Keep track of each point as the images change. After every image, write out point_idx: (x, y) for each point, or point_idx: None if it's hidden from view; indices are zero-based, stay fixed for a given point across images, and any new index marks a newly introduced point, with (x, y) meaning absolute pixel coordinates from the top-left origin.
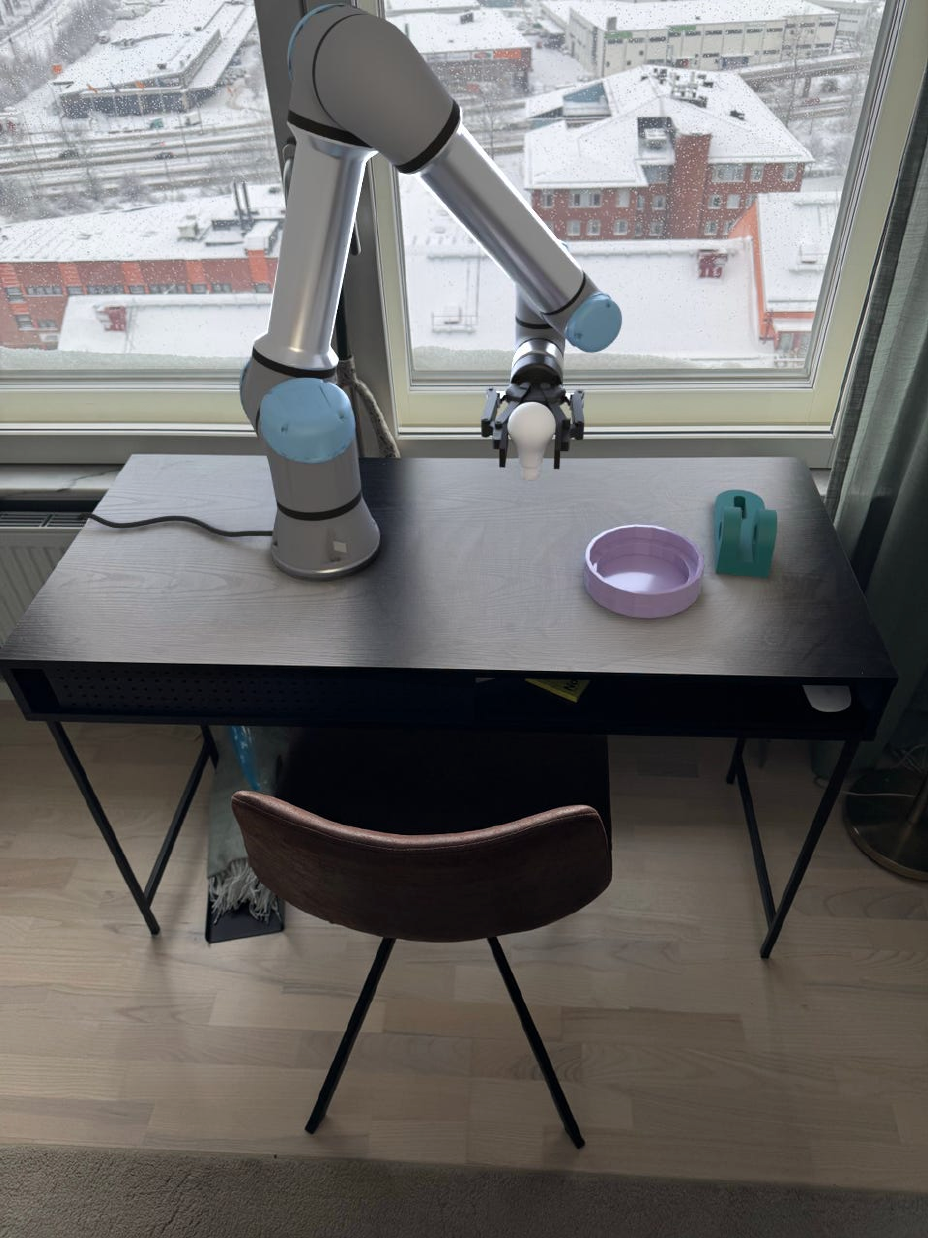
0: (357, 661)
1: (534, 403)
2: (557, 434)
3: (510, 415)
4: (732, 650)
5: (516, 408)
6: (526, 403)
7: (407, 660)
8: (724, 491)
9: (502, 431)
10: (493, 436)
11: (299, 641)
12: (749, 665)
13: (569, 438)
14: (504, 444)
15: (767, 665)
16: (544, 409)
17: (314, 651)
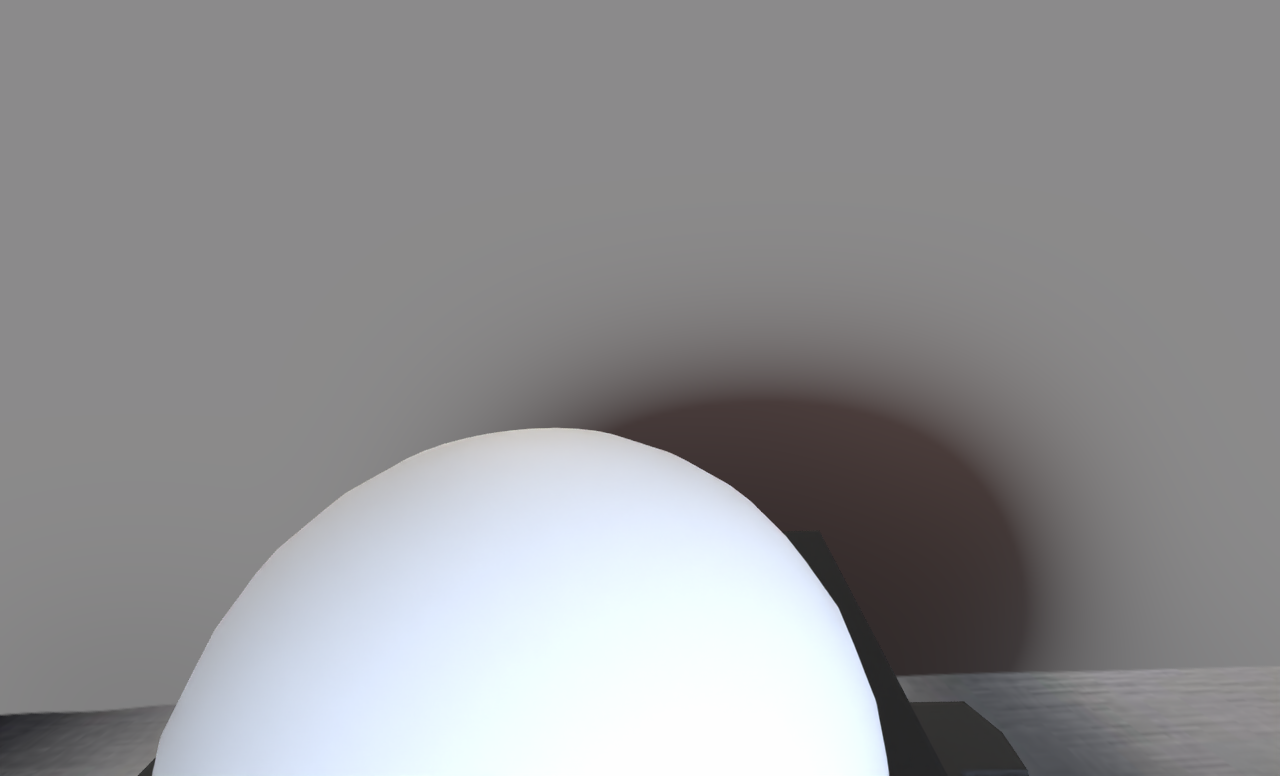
0: (1029, 676)
1: (465, 469)
2: None
3: (847, 634)
4: (124, 763)
5: (758, 539)
6: (594, 487)
7: (916, 686)
8: None
9: (905, 716)
10: (1003, 753)
11: (1239, 718)
12: (133, 723)
13: (151, 767)
14: None
15: (92, 726)
16: (353, 489)
17: (1161, 693)
